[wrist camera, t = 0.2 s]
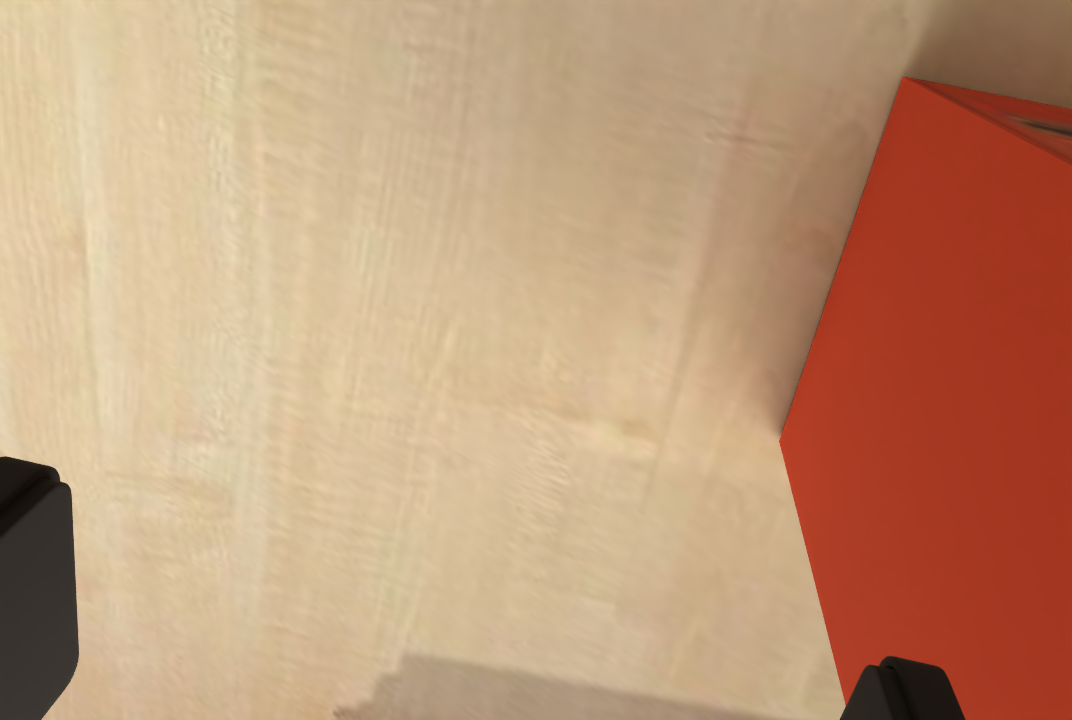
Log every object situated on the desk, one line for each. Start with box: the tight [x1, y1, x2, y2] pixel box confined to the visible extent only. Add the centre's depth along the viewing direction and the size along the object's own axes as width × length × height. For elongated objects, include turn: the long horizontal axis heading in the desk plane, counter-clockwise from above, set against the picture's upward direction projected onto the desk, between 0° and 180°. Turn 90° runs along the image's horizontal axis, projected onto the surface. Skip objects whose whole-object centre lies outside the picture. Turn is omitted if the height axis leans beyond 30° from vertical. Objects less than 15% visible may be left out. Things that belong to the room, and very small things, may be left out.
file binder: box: [779, 77, 1072, 720], centre depth 25 cm, size 8×17×32 cm, turn 170°
